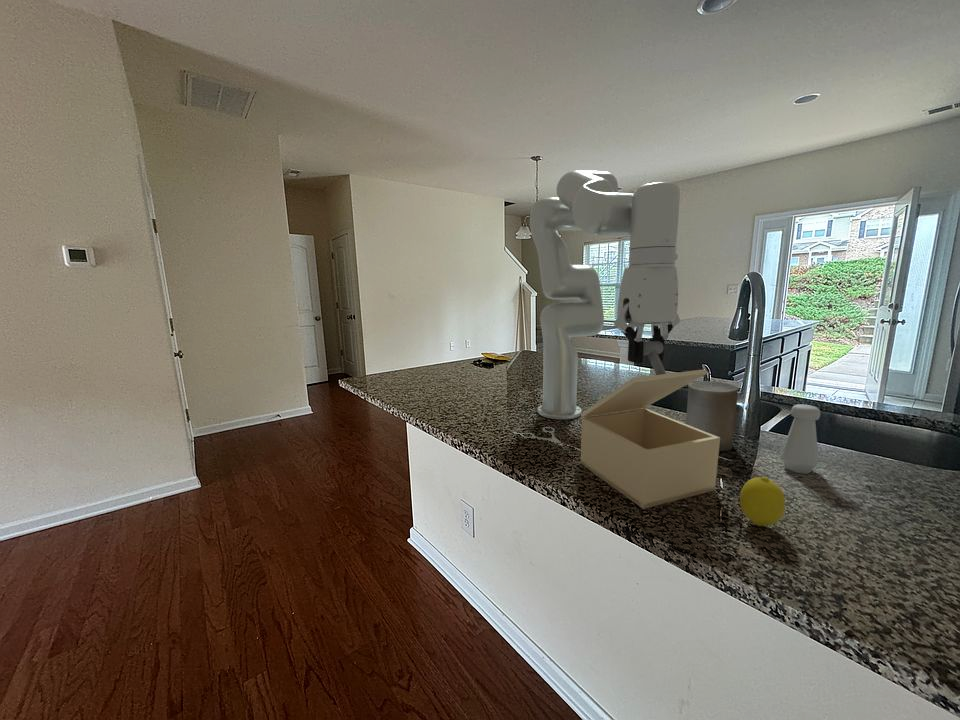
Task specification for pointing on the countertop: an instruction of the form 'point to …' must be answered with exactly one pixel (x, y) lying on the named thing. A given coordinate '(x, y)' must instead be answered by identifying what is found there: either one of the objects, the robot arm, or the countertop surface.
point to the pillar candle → (713, 410)
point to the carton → (649, 456)
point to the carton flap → (644, 386)
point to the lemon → (762, 501)
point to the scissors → (545, 438)
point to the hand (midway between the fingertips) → (645, 360)
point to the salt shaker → (802, 440)
